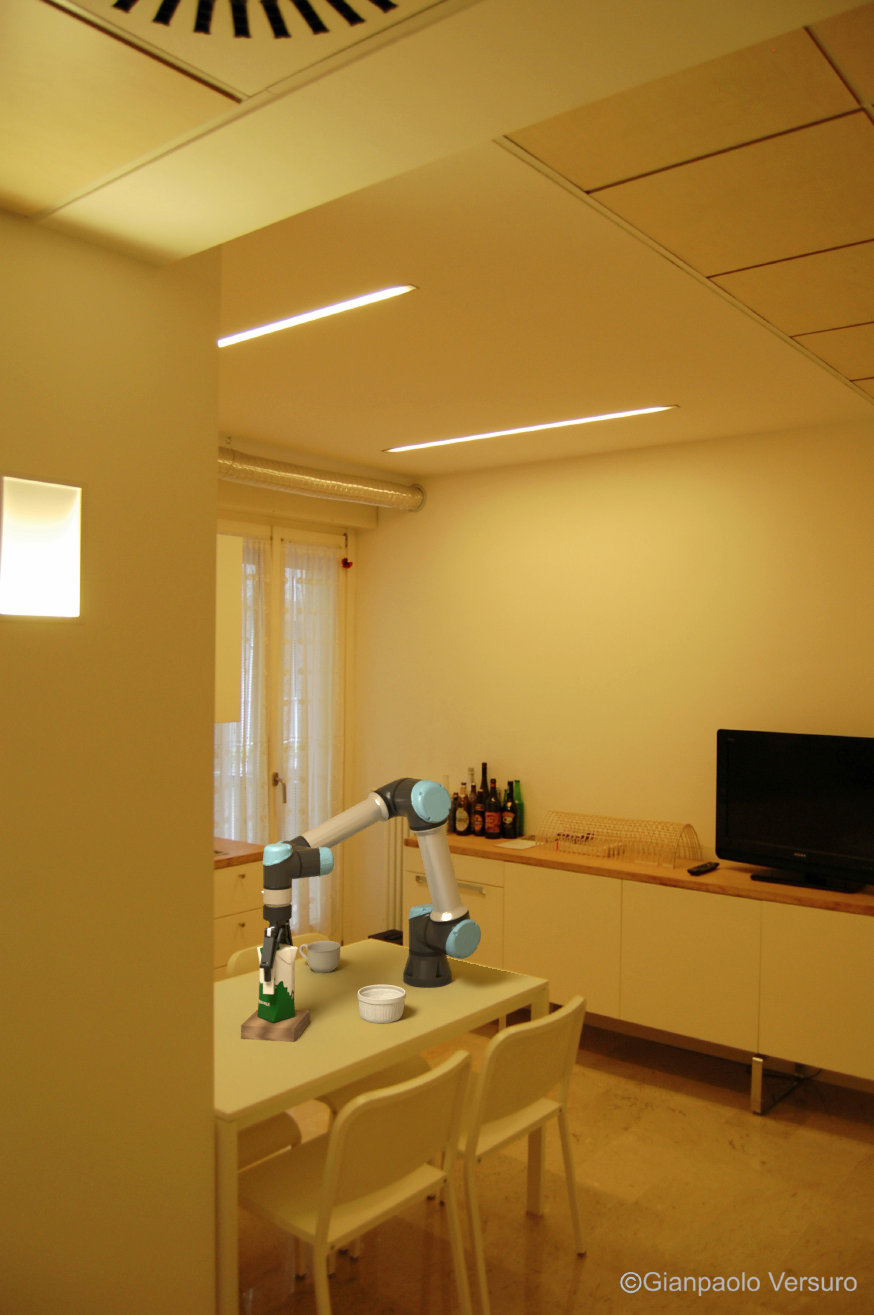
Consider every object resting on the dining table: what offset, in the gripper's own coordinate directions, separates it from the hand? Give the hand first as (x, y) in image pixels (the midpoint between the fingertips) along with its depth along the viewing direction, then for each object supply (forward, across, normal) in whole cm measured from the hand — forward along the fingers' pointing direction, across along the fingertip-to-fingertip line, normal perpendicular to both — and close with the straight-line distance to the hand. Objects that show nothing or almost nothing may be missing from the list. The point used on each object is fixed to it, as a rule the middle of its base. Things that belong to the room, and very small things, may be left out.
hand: (277, 985), depth 251 cm
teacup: (+12, -56, -4) cm, 57 cm away
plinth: (+12, 0, 0) cm, 12 cm away
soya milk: (+8, 0, 0) cm, 8 cm away
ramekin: (+12, -15, +25) cm, 31 cm away
